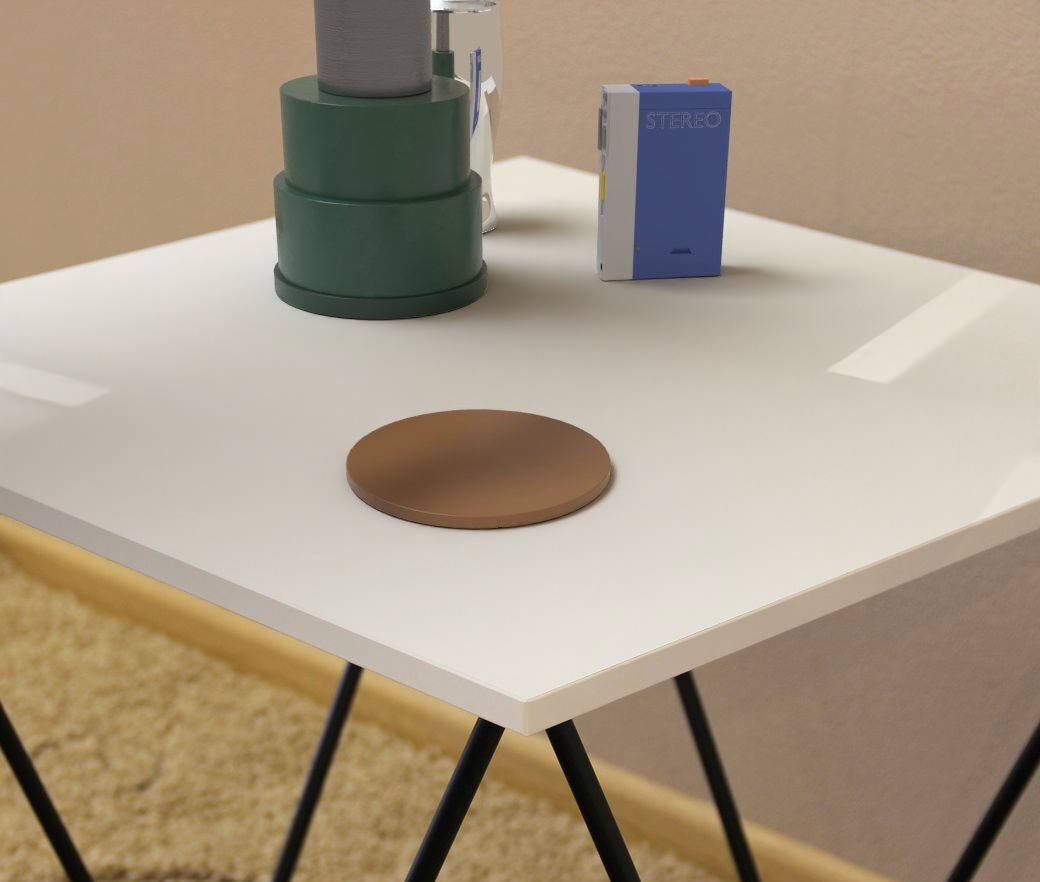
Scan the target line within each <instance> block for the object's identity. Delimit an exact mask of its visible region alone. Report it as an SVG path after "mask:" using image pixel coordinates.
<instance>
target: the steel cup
mask: <svg viewBox="0 0 1040 882" xmlns="http://www.w3.org/2000/svg"><path fill="white" fill-rule="evenodd" d="M313 16H314V35H315V55H316V75H317V78H318V88H319V89H320V90H321V91H323V92H326V93H329V94H333V95H338V96H346V97H356V98H395V97H406V96H413V95H418V94H422V93H425V92H428V91H429V90H431V89H432V54H431V0H313Z"/></svg>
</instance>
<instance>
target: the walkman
mask: <svg viewBox="0 0 1040 882" xmlns="http://www.w3.org/2000/svg"><path fill="white" fill-rule="evenodd" d="M686 81H687V82H686V83H628V84H627V83H625V84H623V83H617V84H616V83H615V84H601V92H600V93H601V94H600V97H601V99H600V106H599V107H598V116H597V117H598V118H597V119H598V120H597V121H598V122H597V150H598V151H599V164H598V165H599V167H598V168H599V169H598V170H599V171H598V198H597V199H598V201H597V202H598V204H597V233H596V234H597V235H596V236H597V237H596V240H597V241H596V270H597V275H598V276H599V278H600V279H601V281H624V280H625V281H627V280H645V279H647V280H648V279H667V278H670V279H671V278H689V277H711V276H721V272H722V259H723V257H722V256H723V243H724V242H723V241H724V229H725V228H724V227H725V226H724V225H725V213H726V211H725V210H726V198H727V197H726V196H727V195H726V194H727V181H728V180H727V179H728V165H729V148H730V134H731V133H730V131H731V120H732V119H731V116H732V103H733V101H732V100H733V91H732V90H731V89H729V88H728V87H726V86H725V85H723V84H722V83H720V82H709V79H708V78H707V77H688V78H687V80H686Z"/></svg>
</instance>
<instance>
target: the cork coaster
mask: <svg viewBox="0 0 1040 882" xmlns="http://www.w3.org/2000/svg"><path fill="white" fill-rule="evenodd" d="M611 471H612V460H611V457H610V453H609V452H608V450H607V448H606V446H605V445H604V444H603V443H602V442H601V441H600V440H599V439H597V438H596V437H595V436H594V435H593V434H591V433H589V432H588V431H586V430H585V429H583V428H580V427H578V426H575V425H574V424H571V423H568V422H566V421H563V420H561V419H556V418H553V417H549V416H546V415H541V414H536V413H530V412H524V411H517V410H507V409H506V410H505V409H489V408H479V409H478V408H473V409H472V408H467V409H451V410H444V411H442V410H441V411H434V412H429V413H423V414H419V415H413V416H409V417H406V418H403V419H399V420H395V421H393V422H390V423H387V424H385V425H382V426H380V427H378V428H376V429H374V430H372V431H369V433H367V434H365V435H364V436H362V437H361V438H360V439H359V440H358V441H357V442H355V443H354V445H353V446H352V447H351V449H350V450H349V452H348V455H347V457H346V461H345V475H346V481H347V483H348V485H349V488H350V489H351V491H353V493H354V494H355V495H356V496H357V497H358V498H359V499H360V500H362V501H363V502H364V503H365V504H367V505H369V506H370V507H372V508H374V509H375V510H377V511H381V512H383V513H385V514H387V515H390V516H393V517H396V518H399V519H402V520H406V521H409V522H410V521H411V522H413V523H418V524H423V525H428V526H435V527H443V528H453V529H499V528H498V527H502V528H511V527H519V526H525V525H526V526H528V525H531V524H532V525H533V524H537V523H541V522H546V521H550V520H554V519H556V518H560V517H563V516H566V515H568V514H571V513H574V512H576V511H577V510H579V509H581V508H584V507H586V506H587V505H589V504H590V503H591V502H593V501H594V500H596V499H597V498H598V497H599V496H600V495H601V494H602V493H603V492H604V490H605V489H606V488H607V487H608V484H609V482H610V480H611Z"/></svg>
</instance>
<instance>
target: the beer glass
mask: <svg viewBox="0 0 1040 882" xmlns="http://www.w3.org/2000/svg"><path fill="white" fill-rule="evenodd" d="M503 31H504V30H503V22H502V3H501V2H500V1H499V0H431V54H432V75H437V76H442V77H447V78H451V79H455V80H458V81H460V82H463V83H465V84H466V85H468V87H469V88H470V169H472V170H474V171H475V172H477V173H478V174H479V175H480V176H481V178H482V232H485V231H489V230H491V229H493V228H495V229H496V228H497V226H498V215H497V208H496V202H495V198H494V192H493V191H494V190H493V179H492V178H493V177H492V176H493V175H492V174H493V161H494V160H493V159H494V153H495V146H496V140H497V134H498V130H499V123H500V117H501V111H502V106H503V105H502V103H503V95H504V85H505V83H504V82H505V48H504V33H503ZM493 230H494V229H493ZM491 231H492V230H491ZM489 232H490V231H489Z"/></svg>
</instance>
